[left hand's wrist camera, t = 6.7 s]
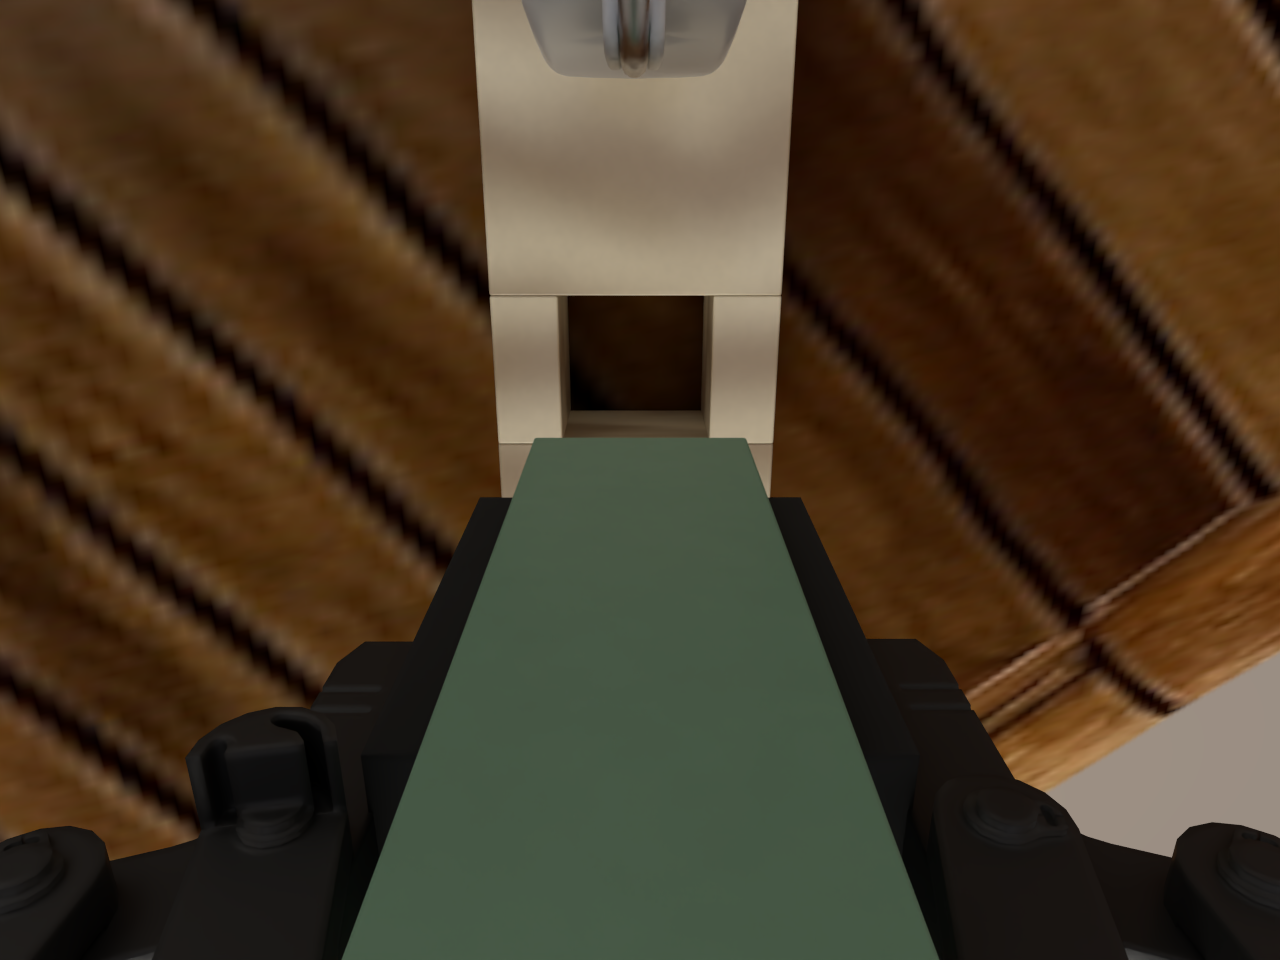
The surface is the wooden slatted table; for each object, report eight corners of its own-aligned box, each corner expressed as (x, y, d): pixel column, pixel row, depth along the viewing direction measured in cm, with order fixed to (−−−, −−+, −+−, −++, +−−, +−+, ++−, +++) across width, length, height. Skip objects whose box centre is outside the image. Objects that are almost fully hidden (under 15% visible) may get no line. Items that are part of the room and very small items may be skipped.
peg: (542, 623, 17) (345, 1566, 6) (533, 436, 16) (253, 1183, 4) (738, 623, 17) (934, 1565, 6) (747, 436, 16) (1026, 1183, 4)
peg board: (754, 476, 33) (800, 603, 24) (517, 476, 33) (470, 603, 24) (798, -409, 24) (901, -771, 15) (470, -411, 24) (364, -772, 15)
